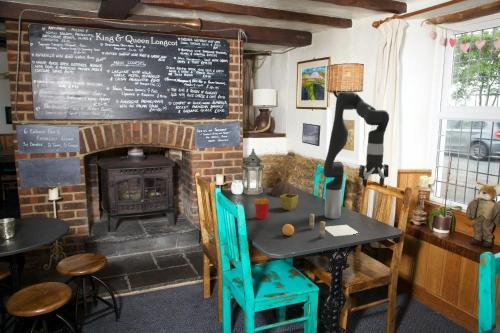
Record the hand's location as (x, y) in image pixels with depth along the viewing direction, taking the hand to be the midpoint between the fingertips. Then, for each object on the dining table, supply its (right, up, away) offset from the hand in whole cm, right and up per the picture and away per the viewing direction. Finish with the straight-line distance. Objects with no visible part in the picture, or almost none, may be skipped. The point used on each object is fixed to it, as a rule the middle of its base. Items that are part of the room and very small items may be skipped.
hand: (372, 186), depth 189 cm
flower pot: (-34, -18, +62) cm, 73 cm away
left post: (-25, -24, +26) cm, 44 cm away
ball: (-39, -23, +15) cm, 48 cm away
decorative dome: (-34, -12, +101) cm, 107 cm away
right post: (-22, -27, +13) cm, 37 cm away
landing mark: (-10, -25, +23) cm, 35 cm away
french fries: (-52, -21, +44) cm, 72 cm away
